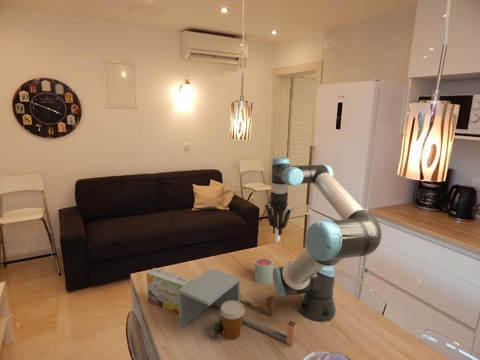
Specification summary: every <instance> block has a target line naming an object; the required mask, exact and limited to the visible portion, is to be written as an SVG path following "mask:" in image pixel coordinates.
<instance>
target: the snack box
mask: <svg viewBox="0 0 480 360" xmlns="http://www.w3.org/2000/svg"><path fill="white" fill-rule="evenodd" d="M192 280H193V279H188V278H186V277H183V276H180V275H177V274H174V273H171V272H168V271H165V270H162V269H159V268H156V267H153V268H152V269H150V270H149V271H147V272H146V283H147V299H148V301H147V302H148V303H150V302H151V303H150V304H152V303H153V305H155V304H156V305H155V306H157V305H158V307H160V308H162V307H163V309H165V310H167V309H168V311H170V312H172V313H174V312H175V314H177V315H179V295H178V289H180V288H181V287H183V286H185V285H186V284H188V283H189V282H191V281H192Z"/></svg>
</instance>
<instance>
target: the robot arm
mask: <svg viewBox="0 0 480 360" xmlns="http://www.w3.org/2000/svg"><path fill="white" fill-rule="evenodd" d="M271 163H272V164H271V181H270V182H271V185H270V202H269V203H266V204H265V205H264V207H265V209H266V213H267V217H268V224H269V226H271V227H272V229H273V230H272V234H273V235H274V238H273V240H274V243H278V242H280V240H281V235H282V234H283V229H286V227H287V225H288V221H289V219H290V216H291V213H292V212H293V210H294V209H293V208H292V207H291V208H290V206H289V204H288V200H289V199H288V197H289V196H288V194H289V193H288V192H289V186H291V187H298V186H299V185H302V184H303V185H304V184H313V185H314V186H315V188H317V190H318V191H319V192H320V193H321V194H322V195H323V196H322V197H324V198H325V199H326V201H327V202H328V203H329V204H330V206H332V208H333V209H334V210H335V211H336V214H338V216H339V217H340V218H341V219H337V220H334V219H332V220H328V219H327V220H326V219H325V220H321V221H316V222H315V221H314V222H313V223H312V224H311V225H310V226H309V227H308V228H307V231H306V234H307V235H306V236H305V245H306V248H305V249H304V250H303V251H302V252H301V253H300V254H299V255H298V256H297V257H296V258H295V259H294V260H290V261H287V262H286V263H284V265H282V266H275V267H273V276H272V282H273V285H274V288H275V291H276V294H277V295H278V296H279V297H289V296H296V295H302V294H303V296H302V297H301V300H300V302H299V311H300V312H301V314H302V315H303V316H305V317H306V318H308V319H310V320H312V321H315V322H328V321H332V320H333V319H334V318H335V317H336V311H337V309H336V304H335V300H334V288H335V287H334V286H335V277H336V268H335V265H337V264H338V263H339V262H341V261H342V260H344V259H347V258H355V257H365V256H368V255H371V254H373V253H374V252H375V251H376V250H377V249H378V248H379V245H380V244H381V241H382V228H381V225H380V223H379V221H378V219H377V217H375V215H374V214H373V213H372V212H371V211H370V210H368V209H366V208H363V207H362V206H361V205H360V204H359V202H357V201H356V200H355V199H354V198H353V197H352V195H350V193H349V192H348V191H346V189H345V188H344V187H343V186H342V185H341V184H340V183H339V182H338V180H336V179H335V178H334V171H333V168H332V166H331V165H328V164H311V165H291V164H290V158H289V157H284V156H276V157H273V159H272V162H271ZM284 213H285V214H284ZM334 316H335V317H334Z"/></svg>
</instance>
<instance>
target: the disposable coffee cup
mask: <svg viewBox="0 0 480 360" xmlns="http://www.w3.org/2000/svg"><path fill="white" fill-rule="evenodd" d="M219 313H220V316H221V320H222V325H223V332H222V333H223V336H224V338H225V339H226V340H229V341H234V340H237V339H239V338H240V336H241V330H242V324H243V323H242V319H243V317H244V314H245V307H244V305H243V304H242V303H240V302H238V301H233V300H231V301H226V302H224V303H223V304H222V305H221V307H219Z"/></svg>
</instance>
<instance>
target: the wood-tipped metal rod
mask: <svg viewBox="0 0 480 360" xmlns="http://www.w3.org/2000/svg"><path fill="white" fill-rule="evenodd" d="M242 324H245V325H246V326H249V327H252V328H253V329H256V330H258V331H261V332H262V333H264V334H267V335H269V336H271V337H274V338H276V339H278V340H280V341H282V342H284V343H286V344H287V345H289V346H292V347H293V346H294V344H295V343H296V333H297V322H294V321H292V320H289V322H288V323H287V324H286V325H287V326H286V334H284V333H283V332H280V331H278V330H275V329H273V328H271V327H269V326H266V325H263V324H262V323H260V322H258V321H255V320H253V319H250V318H248V317H245V316H243V319H242ZM222 333H224V332H223V325H222V319H220V321H218V322H216V324H215V325H214V326H213V327H211V334H210V335H211V336H210V337H211V339H213V340H216V339H217V338H218V337H219V336H220V335H221V334H222Z"/></svg>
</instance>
